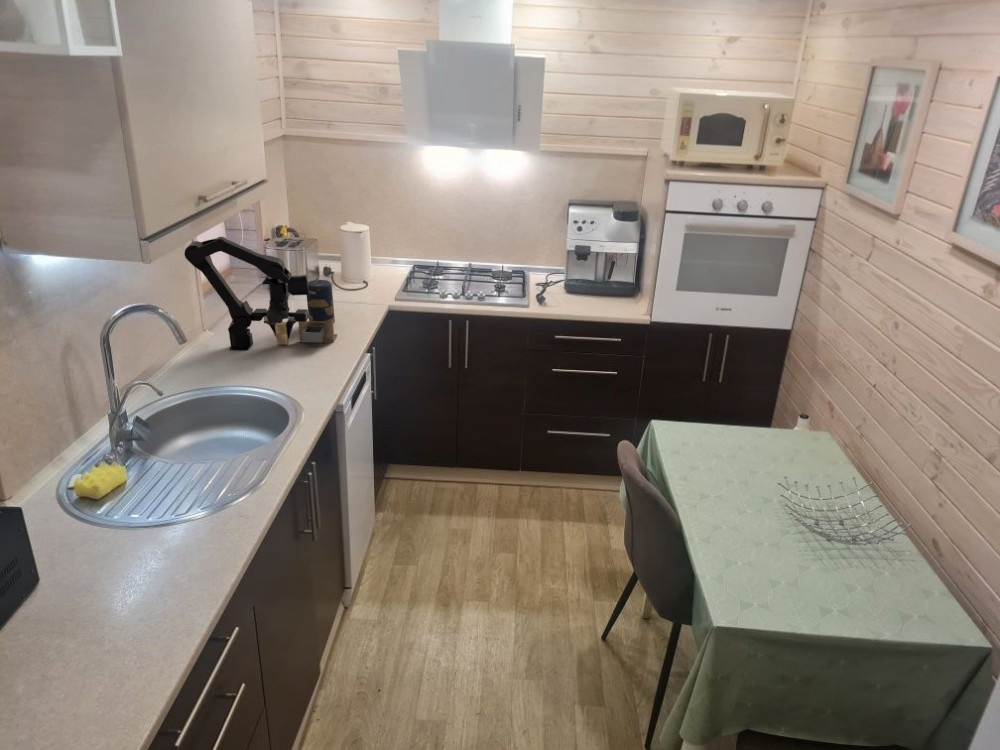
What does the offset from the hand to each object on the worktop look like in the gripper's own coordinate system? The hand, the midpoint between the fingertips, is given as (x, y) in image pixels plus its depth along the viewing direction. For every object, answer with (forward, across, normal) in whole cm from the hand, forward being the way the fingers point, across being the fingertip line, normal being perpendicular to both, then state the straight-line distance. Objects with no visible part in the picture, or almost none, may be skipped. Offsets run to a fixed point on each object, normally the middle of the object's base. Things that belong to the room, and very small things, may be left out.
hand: (283, 338), depth 247 cm
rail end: (+2, 0, 0) cm, 2 cm away
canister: (+3, +9, +20) cm, 23 cm away
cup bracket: (+2, +11, +3) cm, 12 cm away
